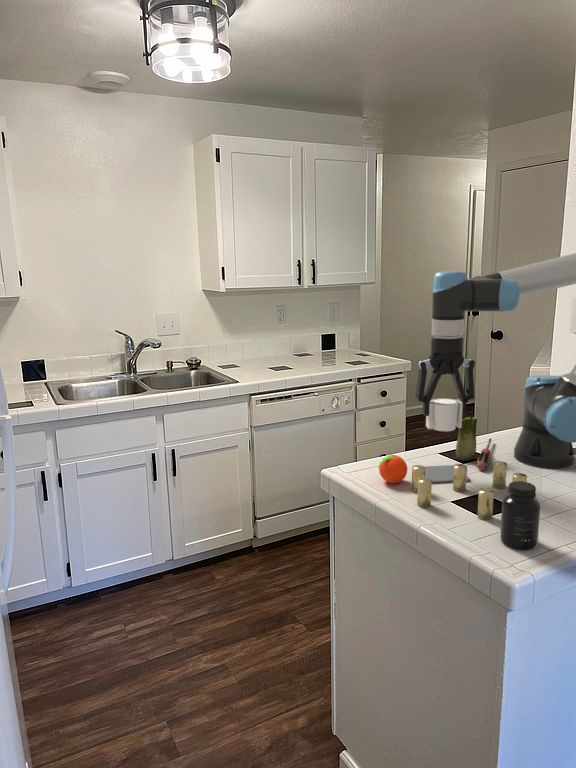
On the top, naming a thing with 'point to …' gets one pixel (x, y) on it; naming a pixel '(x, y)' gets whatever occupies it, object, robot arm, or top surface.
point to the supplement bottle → (520, 516)
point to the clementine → (393, 469)
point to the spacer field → (463, 486)
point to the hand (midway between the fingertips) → (443, 427)
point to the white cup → (444, 414)
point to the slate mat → (441, 474)
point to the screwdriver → (484, 457)
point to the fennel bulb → (466, 440)
